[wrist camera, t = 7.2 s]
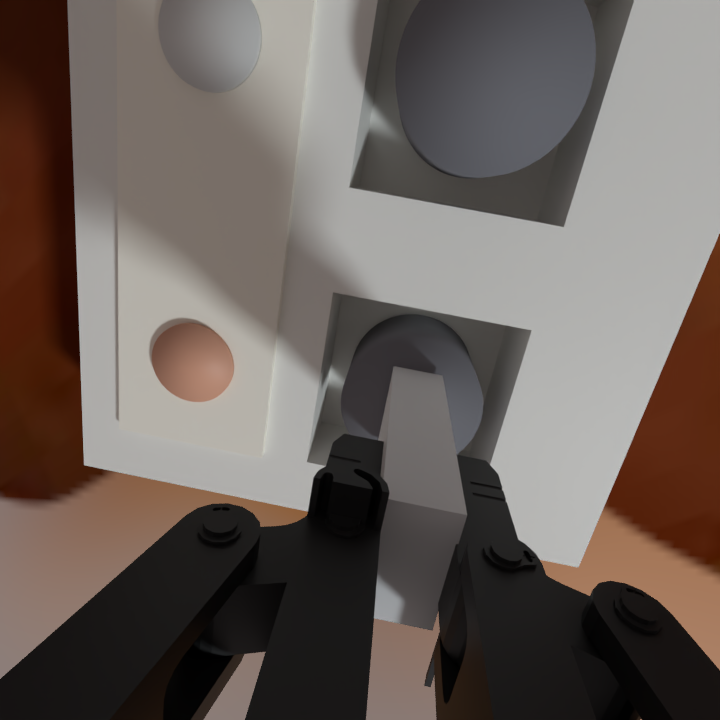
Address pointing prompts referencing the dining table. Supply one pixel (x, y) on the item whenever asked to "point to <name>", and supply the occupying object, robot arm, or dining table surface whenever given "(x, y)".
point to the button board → (374, 245)
